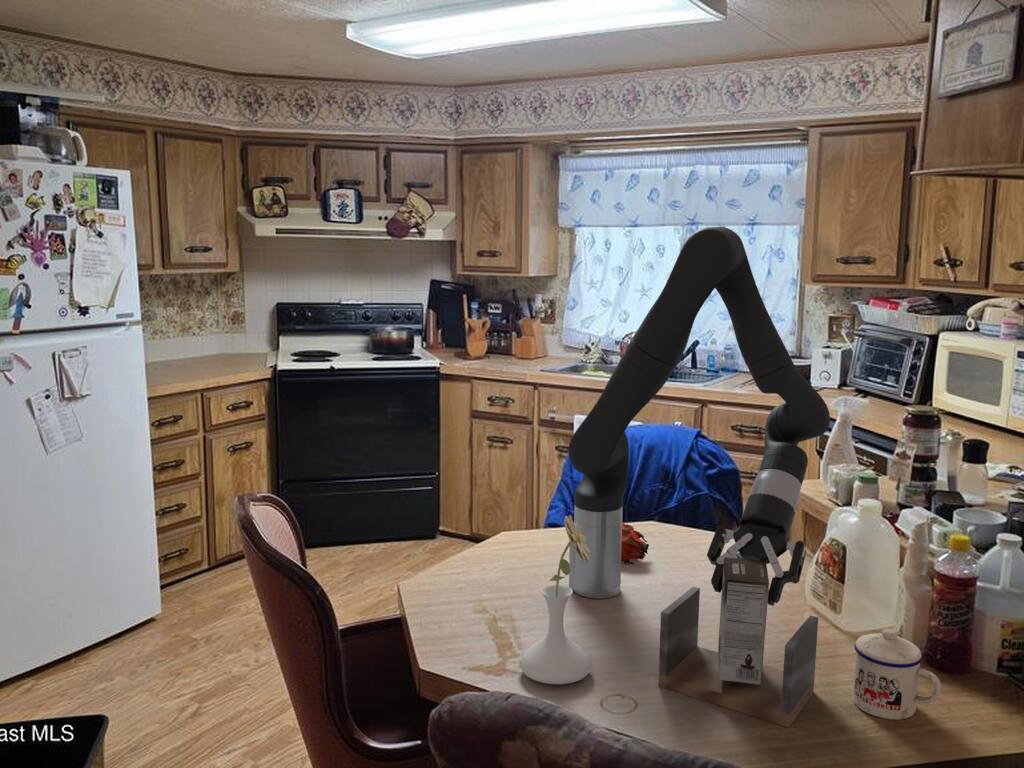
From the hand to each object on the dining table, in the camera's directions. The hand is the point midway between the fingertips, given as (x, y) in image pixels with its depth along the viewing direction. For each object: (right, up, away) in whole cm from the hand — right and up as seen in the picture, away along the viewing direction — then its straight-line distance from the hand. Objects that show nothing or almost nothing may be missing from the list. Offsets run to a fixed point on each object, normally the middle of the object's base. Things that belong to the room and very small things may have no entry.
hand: (742, 596), depth 131 cm
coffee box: (0, -11, +1) cm, 11 cm away
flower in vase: (-28, -14, +6) cm, 31 cm away
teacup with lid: (+21, -16, -4) cm, 26 cm away
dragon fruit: (-11, -6, +55) cm, 56 cm away
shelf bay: (-1, -14, +1) cm, 15 cm away
